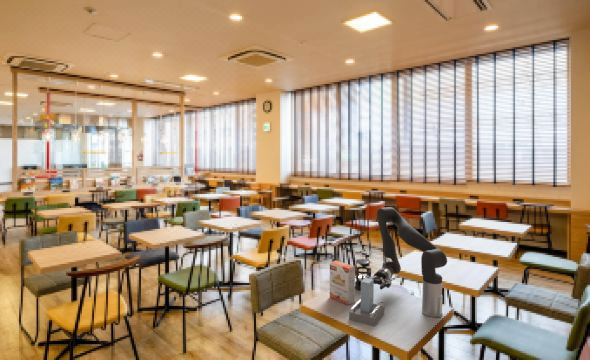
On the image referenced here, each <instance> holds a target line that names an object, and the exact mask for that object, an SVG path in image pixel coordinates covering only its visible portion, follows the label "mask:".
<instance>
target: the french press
mask: <svg viewBox="0 0 590 360" xmlns="http://www.w3.org/2000/svg"><path fill="white" fill-rule="evenodd" d="M359 253H360V254H361V255H362V256H364V254H366V253H367V251H366V250H360V251H359ZM357 264H358V265H360V266H357V267H356V266H355V275H356V276H355V290H356V291H360V292H361V281H362V280H363V278H364V277H365V276H367V275H369V277H372V267H370V266H371V265H370V264H371V260H369V259H366V258H360V259H359V258H358V259H355V265H357ZM360 270H362V271H360ZM364 270H366V271H364ZM359 274H360V275H359Z"/></svg>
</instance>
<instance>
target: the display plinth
mask: <svg viewBox="0 0 590 360" xmlns="http://www.w3.org/2000/svg"><path fill="white" fill-rule="evenodd" d="M384 315H385V306H384V302H383V301H380V302H379V303H378V304H375V303H373V309H372V310H371V311H370V312H365V311H361V298H360V299H359V300H358V301H356V303H355V304H353V305H352V307H350V310H349V311H348V319H349V320H350V321H353V322H355V323H360V324H364V325H368V326H371V327H375V326H376V325H377V324H378V323H379V322H380V320H381V318H382V317H383V316H384Z"/></svg>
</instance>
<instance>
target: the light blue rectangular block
mask: <svg viewBox="0 0 590 360" xmlns="http://www.w3.org/2000/svg"><path fill="white" fill-rule="evenodd" d="M374 286H375V284H374V279H370V278H364V279H363V280H362V281H361V291H360V299H361V311H365V312H370V311H371V310H372V309H373V304H374V291H375V289H374Z"/></svg>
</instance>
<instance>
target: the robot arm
mask: <svg viewBox="0 0 590 360" xmlns="http://www.w3.org/2000/svg"><path fill="white" fill-rule="evenodd" d="M376 220H377V224H378V228H379V231H380V236H381V240H382V246H383V247H382V248H383V255H384V257H385V258H386V259H390V261H388V260H387V261H383V262H382V267H381V268H380V269H378V270H377V271H376V272H375V273H374V275H373V276H371V277H369V275H367V274H366V275H364V276H365V277H364V278H370V279H374V285H378V286H379V290H381V291H382V290H383V289H385V288H387V289H389V288H390V287H391V286H392V279H391V277H392V276H393V275H394V274H395V275H396V274H400V272H401V270H402V269H401V267H402V266H401V264H400V262H399V259H398V256H397V252H396V251H397V248H396V243H395V240H394V239H393V237H392V235H391V234H390V232H389V230H388V227H387V223H389V224H390V223H392V224H393V225H395V226H396V227H397V233H398V236H399V238H400V239H401V240H402V241H403V242H404V243H405V244H406V245H408V246H409V247H410V248H411V247H412V248H414V249H416V250H419V251H421V252H422V253H421V258H420V259H421V260H420V261H421V262H420V264H421V275H422V301H421V302H422V303H421V304H422V305H421V306H422V307H421V311H422V314H423V315H425V316H427V317H430V318H440V317H441V316H442V313H443V276H442V275H441V274H439V273H437V272H436V271H437V270H436V269H439V268H442V267H445V266H446V265H447V263H448V258H447V255H446V254H445V252H444V251H443V250H442V249H440V248H439V247H437V246H436V245H435V244H433V243H432V242H430V241H429V240H428V239H427V238H426V237H425V236H423V235H422V234H421V233H420V232H419V231H418V230H417V229H416V228H414V227H413V226H412V225H411V224H410V223H409V222H408V221H406V219H405V218H403V216H402V215H401V214H400V213H399V212H398V211H397V210H396V209H395V208H394V207H391V206H389V207H388V206H387V207H379V208H378V209H377V211H376ZM364 278H363V279H364Z"/></svg>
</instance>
